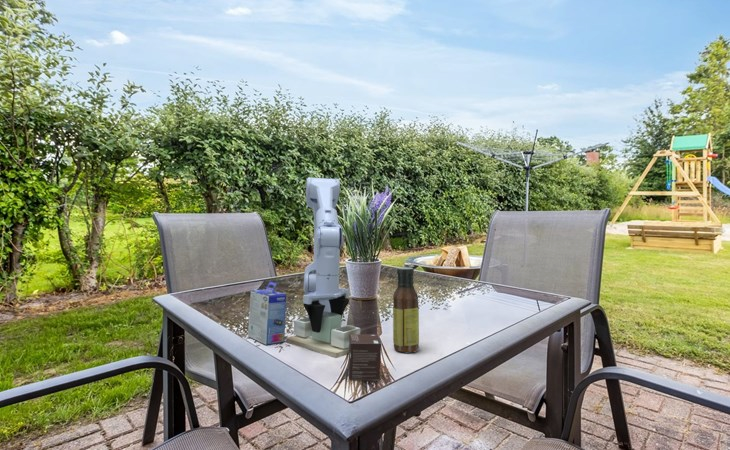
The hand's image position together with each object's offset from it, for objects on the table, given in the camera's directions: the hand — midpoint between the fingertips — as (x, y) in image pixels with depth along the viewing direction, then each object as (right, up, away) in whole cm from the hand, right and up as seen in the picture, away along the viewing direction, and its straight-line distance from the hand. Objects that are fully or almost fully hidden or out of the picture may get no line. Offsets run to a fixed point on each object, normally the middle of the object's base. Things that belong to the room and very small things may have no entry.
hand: (326, 328), depth 95 cm
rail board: (0, -4, 0) cm, 4 cm away
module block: (0, -2, 0) cm, 2 cm away
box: (+9, -4, -19) cm, 21 cm away
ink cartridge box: (-16, -4, +3) cm, 16 cm away
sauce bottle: (+19, -5, -2) cm, 20 cm away
